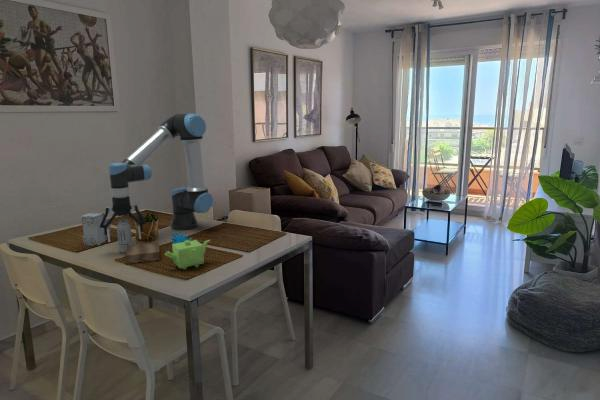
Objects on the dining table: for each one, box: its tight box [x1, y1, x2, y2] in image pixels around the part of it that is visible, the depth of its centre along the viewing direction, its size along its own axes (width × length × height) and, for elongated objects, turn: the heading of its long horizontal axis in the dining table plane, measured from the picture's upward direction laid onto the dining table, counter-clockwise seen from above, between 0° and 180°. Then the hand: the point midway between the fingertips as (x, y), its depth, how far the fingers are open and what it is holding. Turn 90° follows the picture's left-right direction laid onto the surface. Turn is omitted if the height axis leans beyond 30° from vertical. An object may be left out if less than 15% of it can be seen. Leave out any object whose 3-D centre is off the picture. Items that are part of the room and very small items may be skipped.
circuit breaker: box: [80, 212, 112, 246], centre depth 211 cm, size 8×14×15 cm, turn 174°
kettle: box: [164, 239, 211, 270], centre depth 176 cm, size 15×14×11 cm
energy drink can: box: [116, 219, 133, 254], centre depth 194 cm, size 6×6×15 cm
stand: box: [125, 242, 161, 265], centre depth 187 cm, size 14×14×4 cm
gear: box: [170, 232, 192, 245], centre depth 201 cm, size 11×6×10 cm
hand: (124, 239), depth 195 cm, fingers open, 13 cm apart
